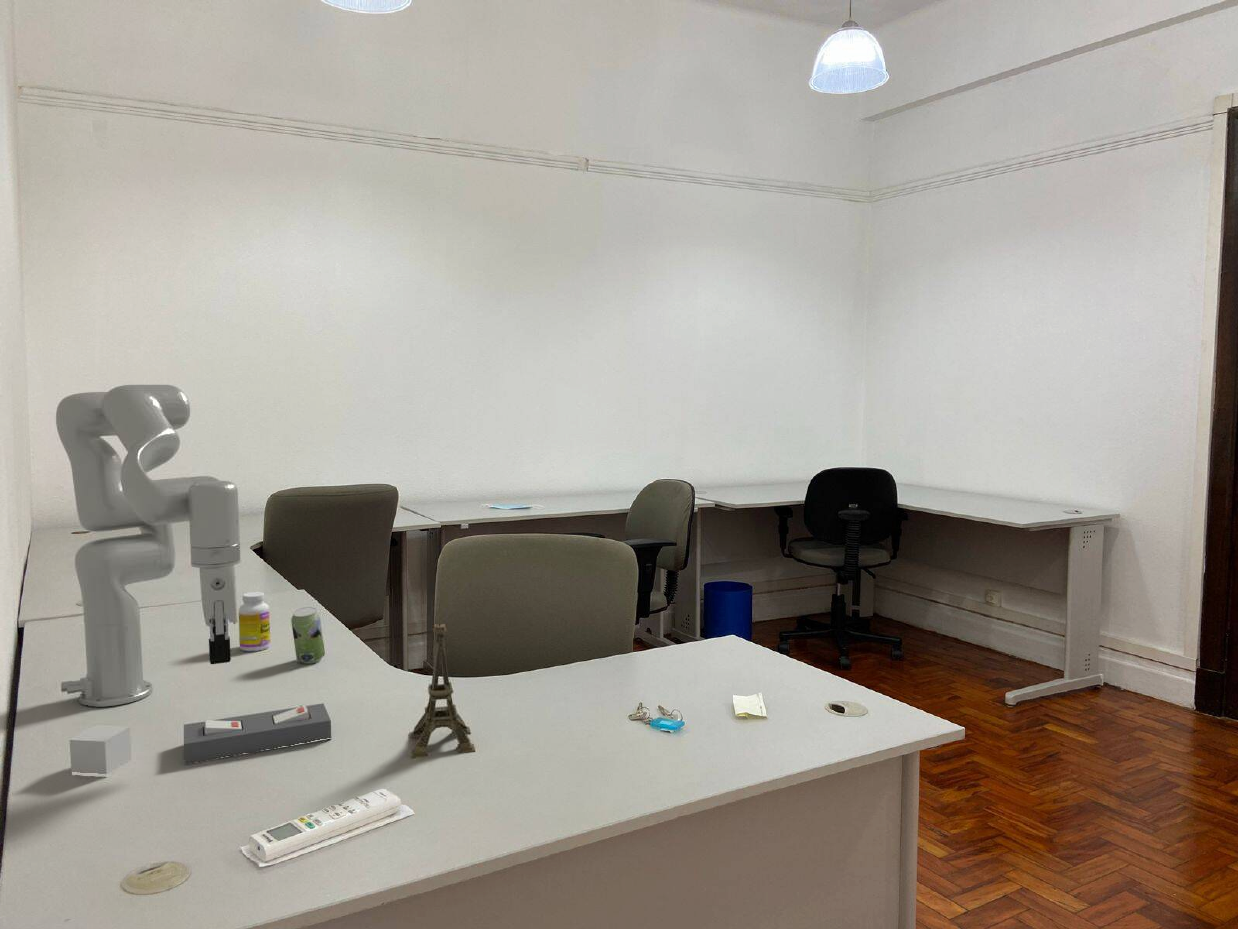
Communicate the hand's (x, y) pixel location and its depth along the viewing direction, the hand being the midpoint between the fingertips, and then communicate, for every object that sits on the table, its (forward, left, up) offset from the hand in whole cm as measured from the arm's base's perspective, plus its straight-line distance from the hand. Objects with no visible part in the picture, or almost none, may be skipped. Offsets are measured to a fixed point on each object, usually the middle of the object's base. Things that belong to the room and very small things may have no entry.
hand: (220, 661), depth 149 cm
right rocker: (+11, 0, -12) cm, 16 cm away
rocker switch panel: (+6, +4, -15) cm, 16 cm away
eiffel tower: (+34, -14, -15) cm, 40 cm away
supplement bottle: (+9, +58, -15) cm, 61 cm away
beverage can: (+19, +42, -15) cm, 49 cm away
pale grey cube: (-18, 0, -15) cm, 24 cm away
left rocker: (0, 0, -12) cm, 12 cm away
